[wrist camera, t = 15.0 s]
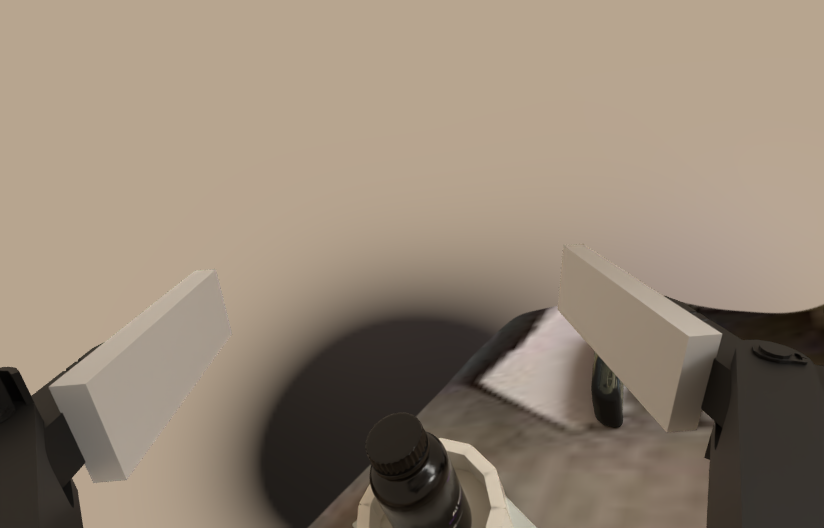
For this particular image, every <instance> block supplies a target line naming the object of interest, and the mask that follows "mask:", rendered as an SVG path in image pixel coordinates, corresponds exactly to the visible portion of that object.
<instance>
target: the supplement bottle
mask: <svg viewBox="0 0 824 528" xmlns="http://www.w3.org/2000/svg"><path fill="white" fill-rule="evenodd" d="M365 449H366V453H367V456H368V457H369V459H370V463H371V468H370V486H371V489H372V492H373V494H374V496H375V498H376V500H377V501H378V503H379V505H380V507H381V508H382V510H383V512H384V513H385V515H386V517H387V519H388V520H389V522H390V524H391V526H392V527H393V528H471V524H472V515H471V510H470V506H469V503H468V501H467V498H466V496H465V493H464V491H463V489H462V486H461V484H460V481H459V479H458V477H457V474H456V472H455V470H454V467H453V465H452V462H451V460H450V458H449V455H448V453H447V451H446V449H445V447H444V445H443V444H442V442H441V441H440V440H439V439H438V438H437V437H436V436H434V435H433V434H431V433H429V432H426V431H425V430H424V429H423V426H422V424H421V422H420V421H419V420H418V418H416V417H415V416H414V415H411V414H409V413H405V412H404V413H394V414H392V415H389V416H387V417H384V418H383V419H382V420H380V421H379V422H378V423H377V424H375V426H374V427H373V428H372V429H371V431H370V432H369V435H368V437H367V441H366V447H365Z"/></svg>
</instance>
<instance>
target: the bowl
mask: <svg viewBox="0 0 824 528" xmlns="http://www.w3.org/2000/svg"><path fill="white" fill-rule="evenodd" d="M439 440H440V441H441V442H442V444H443V445H444V447H445V449H446V451H447V453H448V455H449V458H450V460H451V462H452V465H453V467H454V470H455V472H456V474H457V477H458V479H459V481H460V484H461V486H462V489H463V491H464V493H465V496H466V498H467V501H468V503H469V506H470V510H471V515H472V524H471V528H514V526H513V522H512V518H511V515H510V511H509V507H508V503H507V500H506V496H505V492H504V490H503V487H502V484H501V481H500V479H499V476H498V473H497V470H496V469H495V467H494V466H493V465H492V464H491V463H489V462H488V461H487V460H486V459H485V458H484V457H483V456H482V455H481V454H480V453H479V452H478V451H477V450H476V449H475V448H474V447H473V446H472V445H471V446H470V444H466V443H461V442H457V441H452V440H448V439H443V438H439ZM359 504H360V505H358V517H357V528H393V527H392V526H391V524H390V522H389V520H388V519H387V517H386V515H385V513H384V512H383V510H382V508H381V507H380V505H379V503H378V501H377V500H376V498H375V496H374V494H373V492H372V489H371V486H370V484H369V486H368V488H367V490H366V492H365V493H364V495H363V497H362V499H361V501H360V503H359Z"/></svg>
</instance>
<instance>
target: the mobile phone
mask: <svg viewBox="0 0 824 528" xmlns="http://www.w3.org/2000/svg"><path fill="white" fill-rule="evenodd" d="M592 399H593V405H594V411H595V416H596V418H597V419H598V420H599V421H600V422H601V423H602V424H604V425H607V426H611V427H620V426H621V425H622V422H623V413H622V410H623V383H622V382H621V380H620V379H619V378H618V377H617V376H616V375H615V374H614V372H613V371H612V370H611V369H610V368H609V367H608V366H607V365H606V363H605V362H604V361H603V360H602V359H601V358H600V357H599V356H598V354H597V353H596V352H595V351H594V364H593V373H592Z"/></svg>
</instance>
